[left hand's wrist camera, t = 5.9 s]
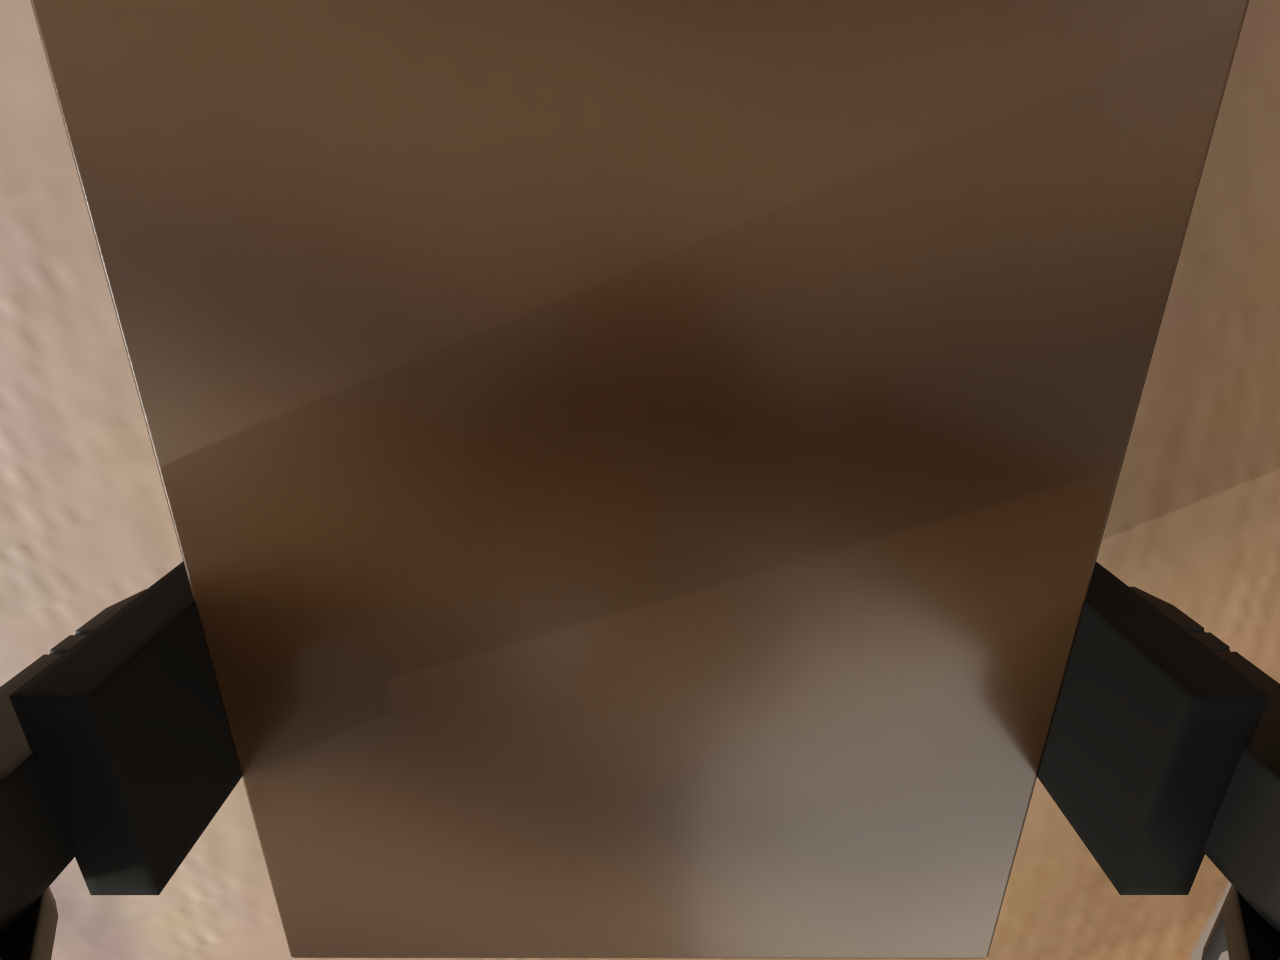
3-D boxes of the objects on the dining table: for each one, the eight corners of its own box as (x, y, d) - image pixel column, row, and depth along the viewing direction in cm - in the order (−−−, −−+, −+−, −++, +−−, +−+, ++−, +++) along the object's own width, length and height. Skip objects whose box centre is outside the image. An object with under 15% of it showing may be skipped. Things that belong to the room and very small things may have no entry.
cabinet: (315, -308, 11) (-347, -1365, 4) (965, -309, 11) (1628, -1368, 4) (436, 647, 18) (290, 959, 10) (842, 647, 18) (988, 960, 10)
